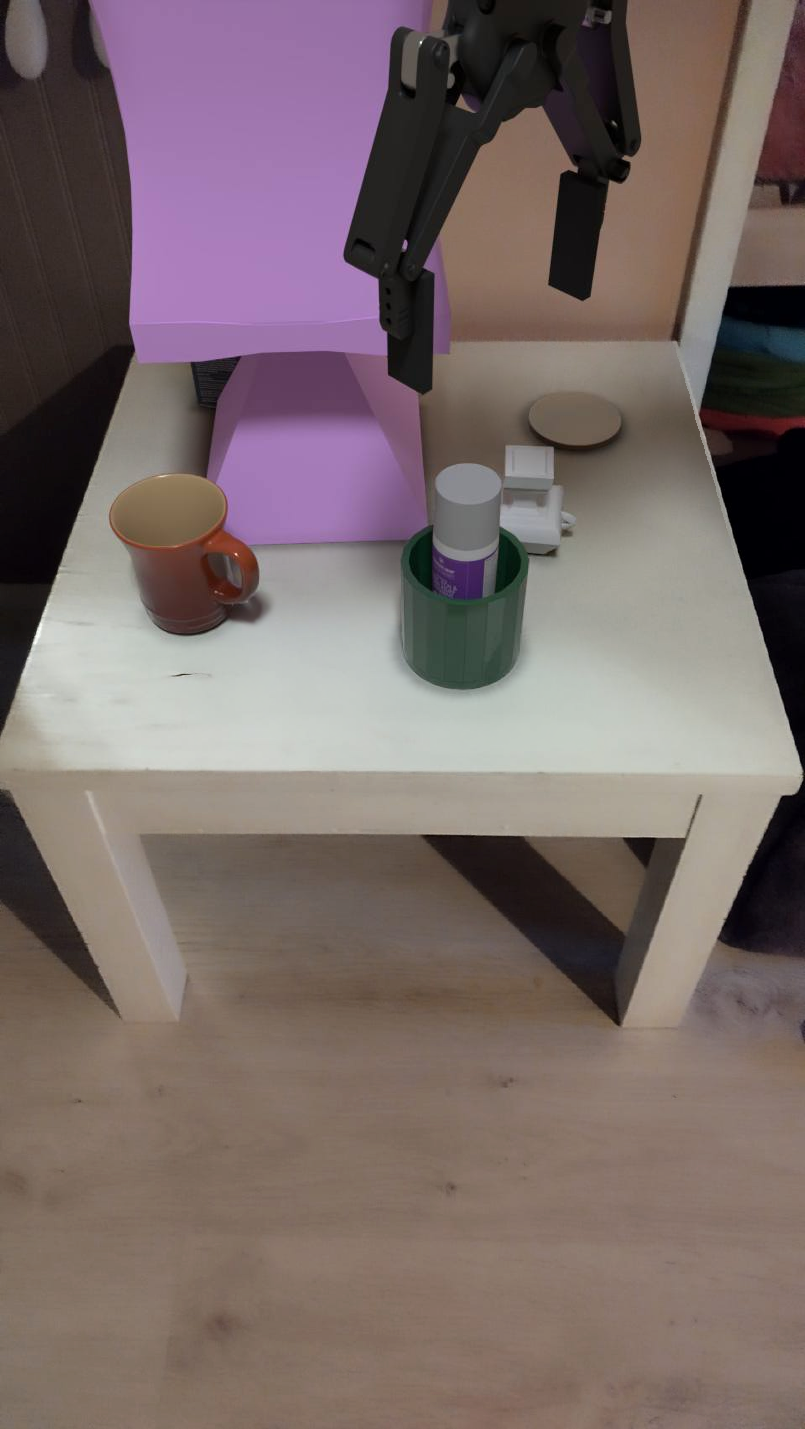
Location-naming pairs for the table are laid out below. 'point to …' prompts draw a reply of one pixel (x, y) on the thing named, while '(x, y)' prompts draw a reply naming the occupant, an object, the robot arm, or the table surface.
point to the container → (466, 531)
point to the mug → (183, 550)
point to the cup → (462, 618)
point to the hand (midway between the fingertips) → (493, 335)
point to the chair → (272, 250)
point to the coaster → (574, 421)
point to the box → (212, 378)
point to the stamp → (533, 499)
